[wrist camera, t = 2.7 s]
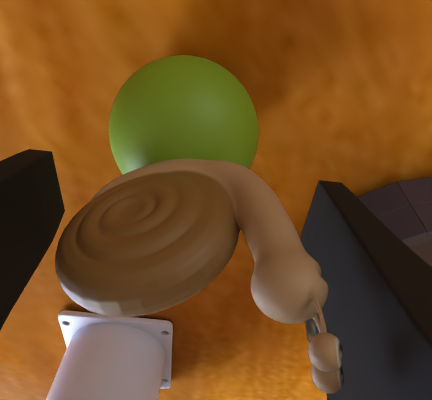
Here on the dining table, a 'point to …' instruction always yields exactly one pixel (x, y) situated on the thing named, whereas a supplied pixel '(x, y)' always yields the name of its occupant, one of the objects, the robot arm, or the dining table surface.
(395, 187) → the bowl
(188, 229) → the snail figurine
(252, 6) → the dining table surface
